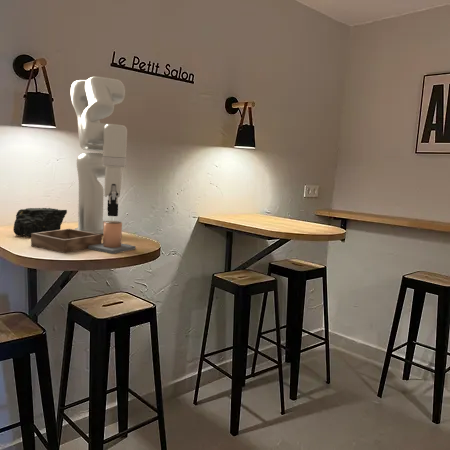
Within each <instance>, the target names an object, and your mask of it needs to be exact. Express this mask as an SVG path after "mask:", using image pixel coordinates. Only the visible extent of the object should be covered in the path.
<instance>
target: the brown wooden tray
mask: <svg viewBox="0 0 450 450" xmlns="http://www.w3.org/2000/svg"><path fill="white" fill-rule="evenodd" d="M74 229H75V228H63V229H62V228H61V229H60V230H54V231H47V232H39V233H31V235H30V245H31V246H34V247H37V248H42V249H47V250H50V251H56V252H59V253H70V252H75V251H79V250H80V251H81V250H86V249H87V250H88V246H90V245H95V244H101V243H102V241H103V236H102V235H103V234H96V233H91V232H85V231H80V230H74Z"/></svg>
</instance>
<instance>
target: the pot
mask: <svg viewBox="0 0 450 450" xmlns="http://www.w3.org/2000/svg"><path fill="white" fill-rule="evenodd" d="M104 221H105V222H104V229H103V234H102V235H103V236H102V243H103V246H104V247H111V248H116V247H121V243H122V234H123V222H122V221H118V220H104Z"/></svg>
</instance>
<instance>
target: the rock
mask: <svg viewBox="0 0 450 450" xmlns="http://www.w3.org/2000/svg"><path fill="white" fill-rule="evenodd" d="M67 213H68V210H67V209H58V208H52V207H35V208H34V207H28V208H24V209H23V208H22V209H21V208H20V209H19V210H18V211H17V212H16V215H15V221H14V224H13V233H14V234H15V235H16V236H24V237H31V233H39V232H47V231H54V230H62V228H61V227H62V226H61V225H62V223H63V221H64V219H65V217H66V215H67Z"/></svg>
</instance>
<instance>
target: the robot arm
mask: <svg viewBox="0 0 450 450" xmlns="http://www.w3.org/2000/svg"><path fill="white" fill-rule="evenodd" d="M70 86H71V87H70V99H71V104H72V107H73V108H74V111H75V114H76V117H77V118H76V119H77V131H78V132H77V133H78V141H79V147H80V148H81V149H83V150H85V151H88V152H83V153H81V154H79V155H78V157H77V158H76V169H77V171H76V172H77V177H78V206H77V207H78V211H77V212H78V214H77V215H78V216H77V217H78V218H77V221H78V224H77V225H78V226H77V227H76V228H73V229H74V230H80V231H85V232H91V233H96V234H101V235H103V229H104V222H105V221H106V220H104V197H105V198H108V199H107V206H106V207H107V208H106V209H107V216H108V217H118V215H119V201H118V200H119V199H118V198H120V196H121V189H122V179H123V178H122V176H123V169H126V167H127V149H128V148H127V147H128V146H127V144H128V143H127V142H128V128H127V127H126V125H123V124H116V123H107V122H106V123H105V122H101V121H100V120H103V119H106V118H108V117H109V116H111V115H112V114H113V112H114V111H115V110H114V109H115V106H116V105H119V104H121V103H123V101H124V99H125V97H126V87H125V85H124V83H123V82H122V81H121V80H120V79H117V78H112V77H111V78H110V77H103V76H91V77H89V78H88V79H79V80H75V81H73V82H72V84H71V85H70ZM98 178H99V179H100V178H102V179H104V186H103V185H102V183H101V182H100V181H99V179H98Z"/></svg>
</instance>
